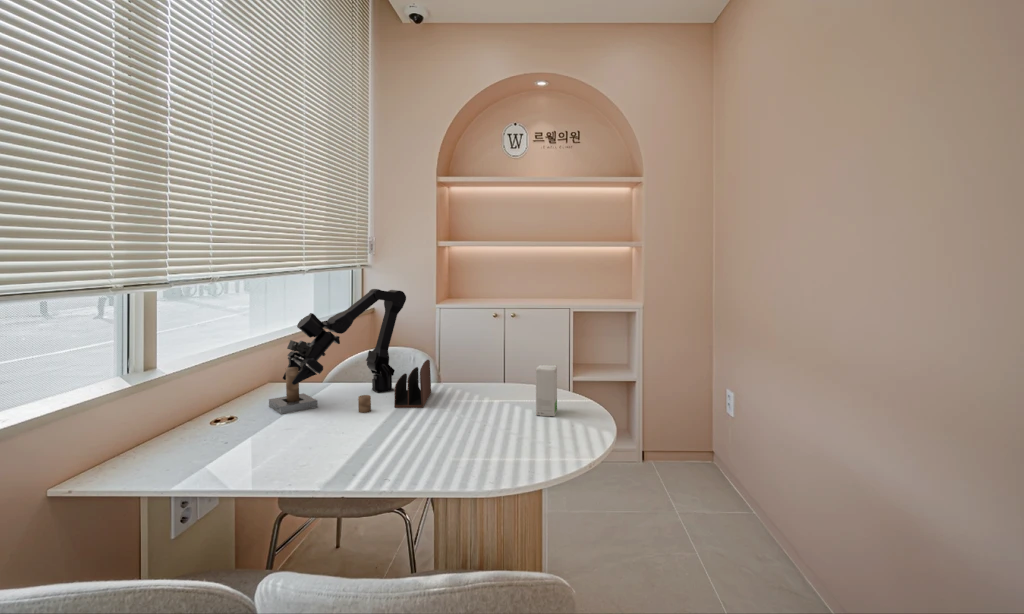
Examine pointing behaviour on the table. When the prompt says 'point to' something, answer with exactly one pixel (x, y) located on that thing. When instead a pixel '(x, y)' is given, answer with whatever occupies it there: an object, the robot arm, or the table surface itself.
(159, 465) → the table surface
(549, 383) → the skincare box
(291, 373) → the tall pin
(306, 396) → the hole collar
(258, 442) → the table surface
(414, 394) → the letter holder
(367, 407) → the stub pin
